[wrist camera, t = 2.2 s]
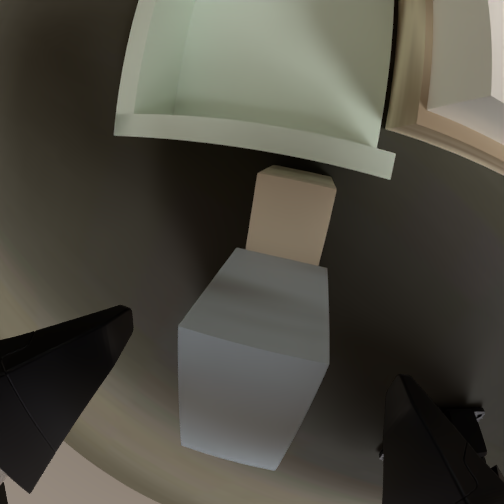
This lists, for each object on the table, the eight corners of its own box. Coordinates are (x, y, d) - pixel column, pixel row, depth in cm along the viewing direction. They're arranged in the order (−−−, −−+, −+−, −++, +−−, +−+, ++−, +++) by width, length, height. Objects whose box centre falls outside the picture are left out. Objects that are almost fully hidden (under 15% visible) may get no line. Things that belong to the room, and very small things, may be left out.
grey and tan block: (288, 363, 15) (260, 493, 8) (235, 350, 16) (183, 472, 8) (338, 178, 11) (374, 240, 4) (266, 163, 12) (184, 199, 5)
